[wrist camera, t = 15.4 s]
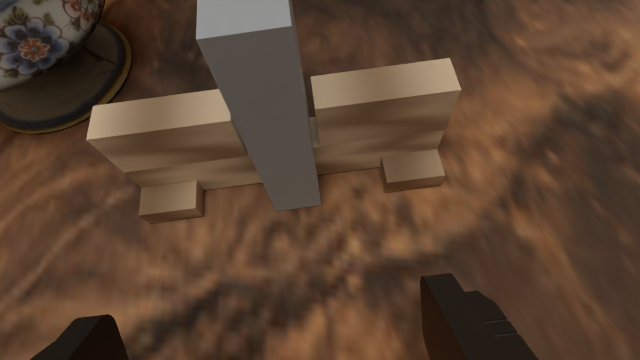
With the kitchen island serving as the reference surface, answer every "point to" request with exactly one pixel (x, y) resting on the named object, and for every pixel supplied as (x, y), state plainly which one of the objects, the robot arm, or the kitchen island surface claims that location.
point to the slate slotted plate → (263, 91)
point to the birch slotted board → (326, 129)
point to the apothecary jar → (57, 63)
